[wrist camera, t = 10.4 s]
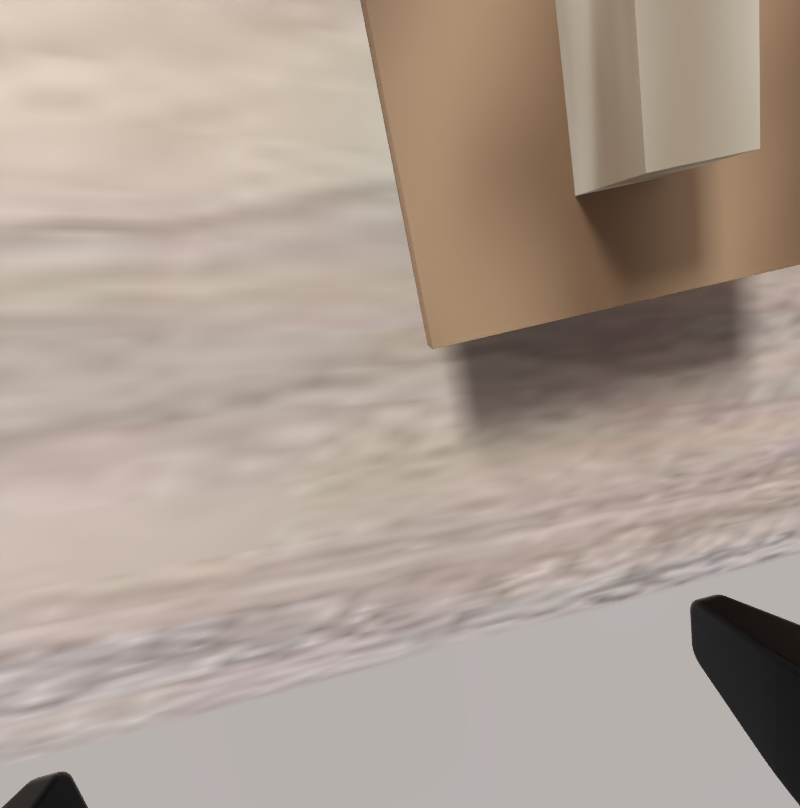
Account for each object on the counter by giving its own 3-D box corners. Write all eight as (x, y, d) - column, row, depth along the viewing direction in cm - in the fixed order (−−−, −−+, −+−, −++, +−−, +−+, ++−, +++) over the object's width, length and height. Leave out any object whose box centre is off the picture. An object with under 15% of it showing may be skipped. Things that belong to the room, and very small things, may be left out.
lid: (795, -221, 12) (1007, -449, 8) (791, 261, 15) (942, 257, 11) (332, -144, 11) (329, -354, 7) (427, 345, 14) (459, 370, 10)
